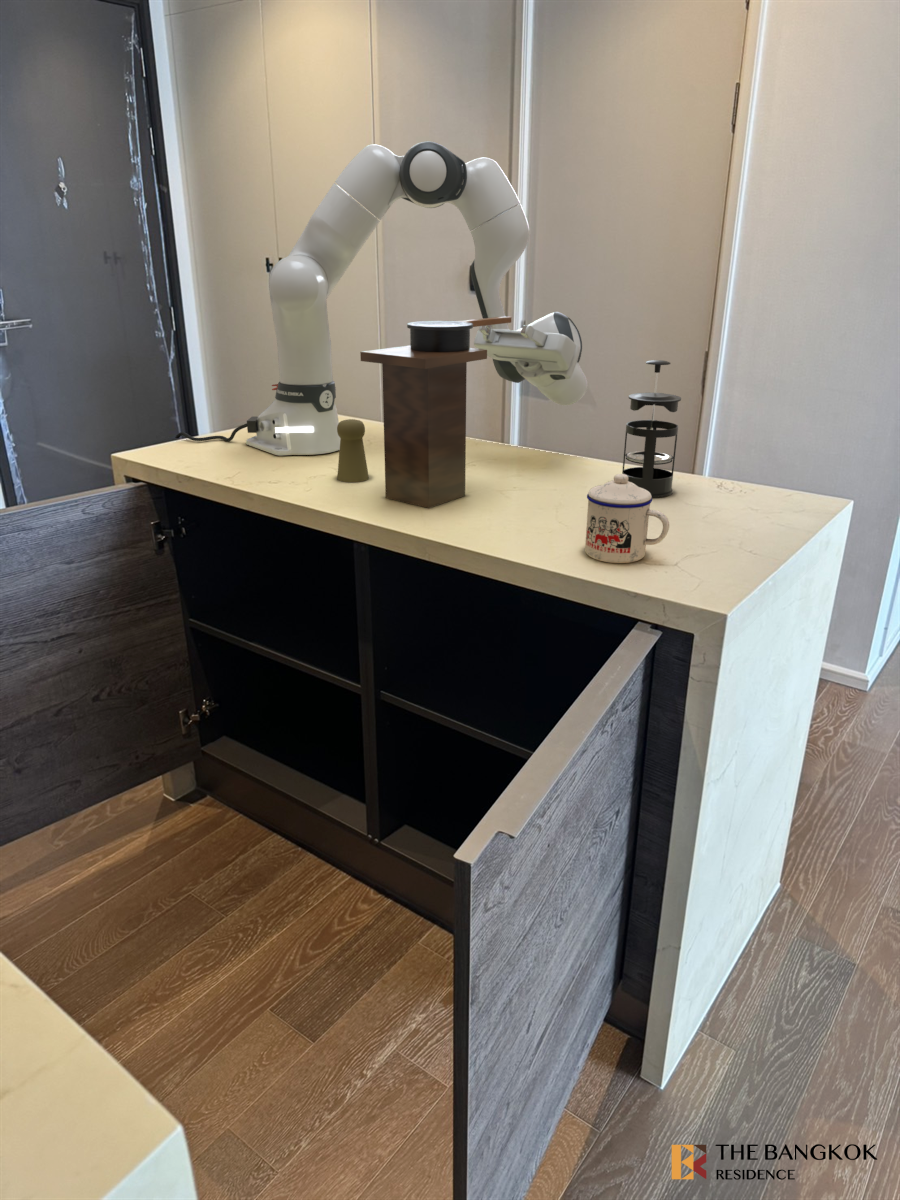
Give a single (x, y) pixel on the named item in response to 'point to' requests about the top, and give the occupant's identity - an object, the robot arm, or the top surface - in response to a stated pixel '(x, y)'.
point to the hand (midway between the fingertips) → (503, 327)
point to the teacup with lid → (620, 521)
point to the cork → (352, 451)
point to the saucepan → (446, 334)
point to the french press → (652, 441)
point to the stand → (424, 422)
